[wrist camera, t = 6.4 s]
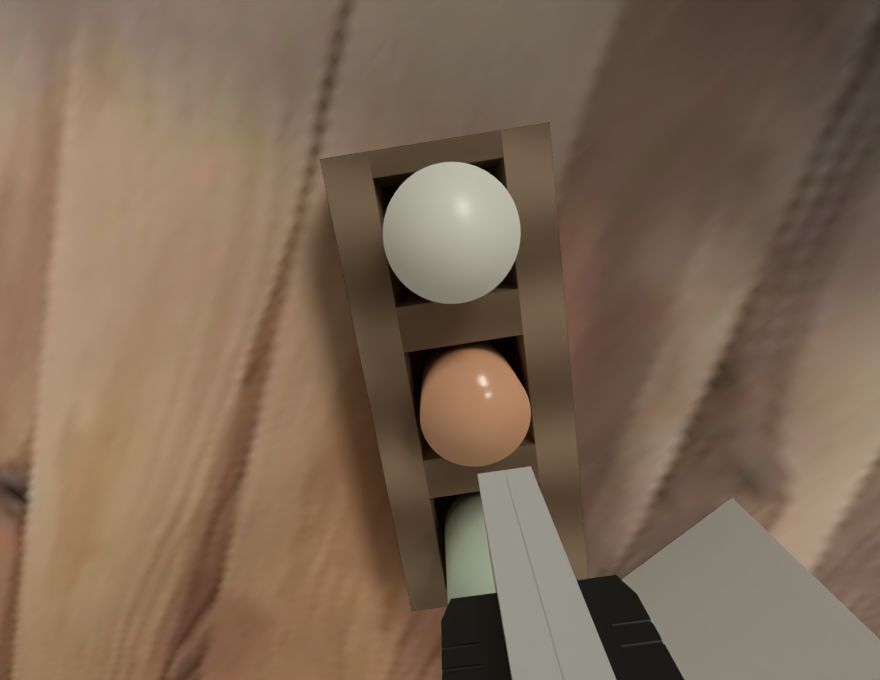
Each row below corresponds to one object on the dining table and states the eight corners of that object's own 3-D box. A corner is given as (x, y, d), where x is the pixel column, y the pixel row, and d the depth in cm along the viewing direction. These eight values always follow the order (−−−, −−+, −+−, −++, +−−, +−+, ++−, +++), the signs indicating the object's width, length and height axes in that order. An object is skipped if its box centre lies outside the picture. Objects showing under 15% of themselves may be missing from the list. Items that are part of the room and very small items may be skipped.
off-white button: (385, 188, 20) (370, 173, 15) (492, 171, 20) (512, 151, 15) (403, 295, 21) (395, 313, 16) (505, 279, 21) (527, 293, 16)
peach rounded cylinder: (415, 344, 24) (411, 372, 19) (505, 330, 24) (524, 355, 19) (429, 427, 25) (429, 474, 20) (515, 414, 25) (536, 458, 20)
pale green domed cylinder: (437, 492, 24) (439, 559, 19) (528, 479, 24) (553, 542, 19) (451, 569, 25) (455, 650, 20) (537, 556, 25) (563, 634, 20)
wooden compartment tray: (338, 172, 23) (319, 159, 19) (529, 141, 22) (549, 122, 19) (414, 559, 28) (411, 611, 24) (567, 537, 28) (588, 586, 24)
